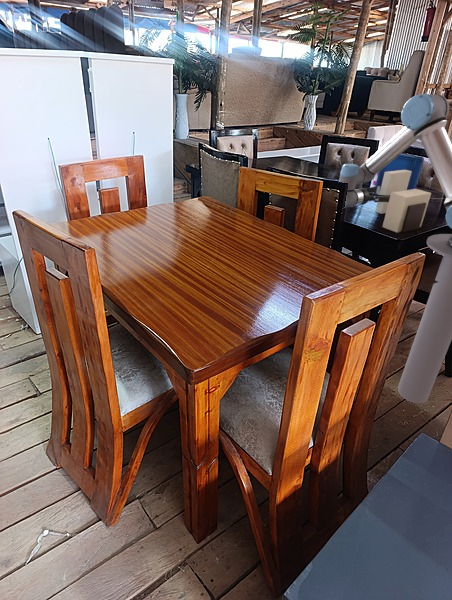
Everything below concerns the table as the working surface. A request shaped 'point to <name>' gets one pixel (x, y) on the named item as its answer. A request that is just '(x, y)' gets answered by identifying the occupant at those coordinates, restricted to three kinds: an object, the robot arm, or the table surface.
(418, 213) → the cream upright block
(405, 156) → the book
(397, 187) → the cream book
